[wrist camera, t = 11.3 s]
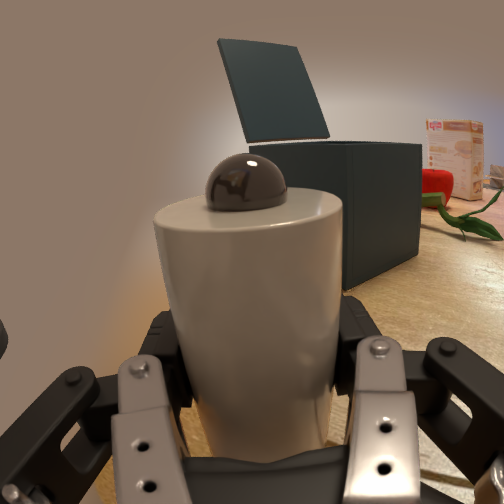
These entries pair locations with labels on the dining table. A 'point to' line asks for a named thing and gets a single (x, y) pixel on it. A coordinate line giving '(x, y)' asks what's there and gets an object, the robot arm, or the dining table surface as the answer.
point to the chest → (361, 196)
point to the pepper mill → (256, 307)
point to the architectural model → (495, 178)
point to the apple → (437, 182)
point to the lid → (272, 91)
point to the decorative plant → (463, 216)
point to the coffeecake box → (458, 154)
